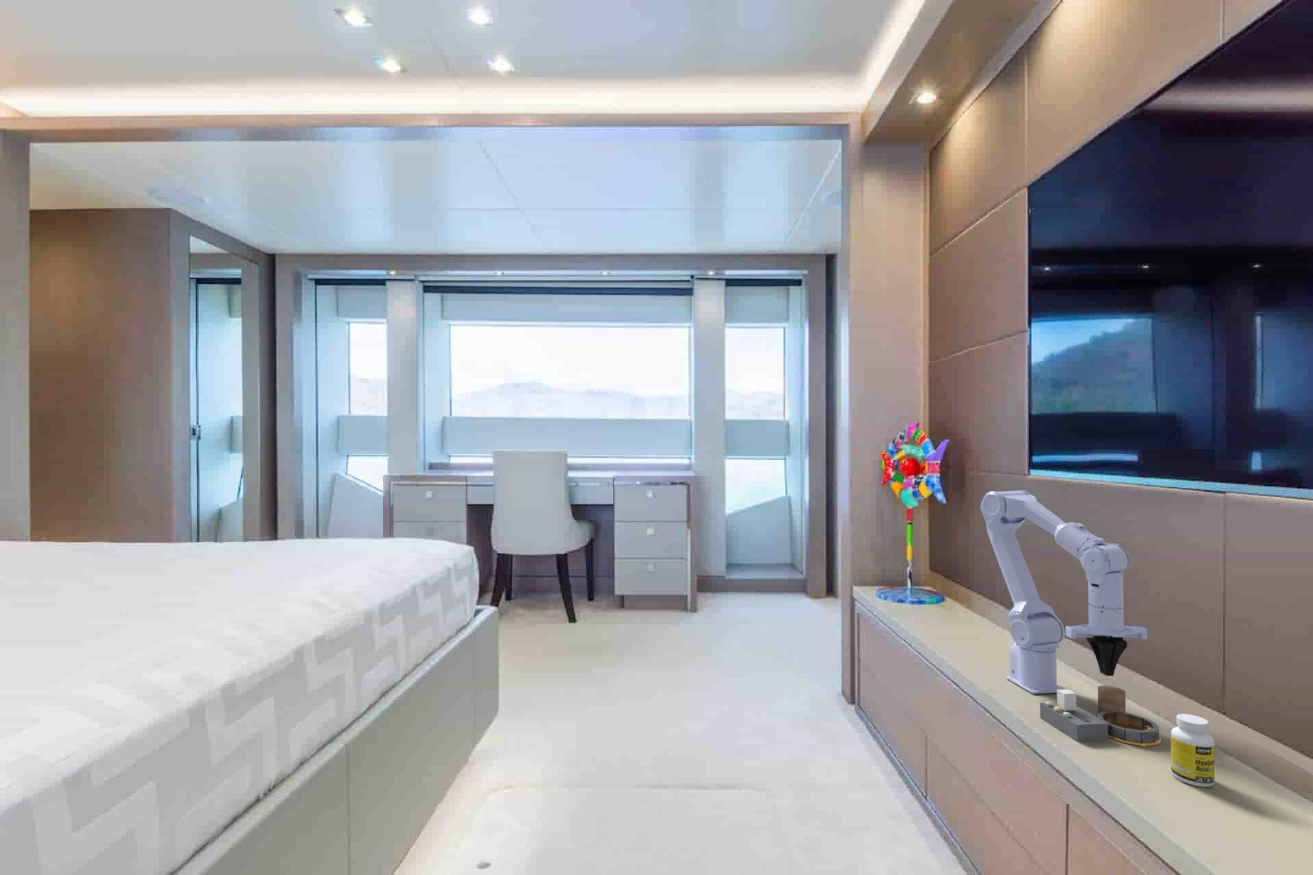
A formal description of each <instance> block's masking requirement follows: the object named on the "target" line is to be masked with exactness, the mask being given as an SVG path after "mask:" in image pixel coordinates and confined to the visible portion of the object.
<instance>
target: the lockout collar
mask: <svg viewBox="0 0 1313 875" xmlns="http://www.w3.org/2000/svg"><path fill="white" fill-rule="evenodd" d="M1096 717H1097V718H1099V719H1101V720H1103V721H1104V722H1106V723H1108V739H1110V740H1113V741H1116V742H1119V743H1122V742H1123V743H1122V744H1126V745H1131V746H1137V745H1145V746H1144V747H1154V746H1153V745H1156V746H1158V745H1160V743H1162V741H1163V740H1162V737H1161V736H1160V727H1159V726H1158V724H1157V723H1156V722H1155V721H1152V720H1151V719H1148V718H1147V717H1145V716H1141V715H1138V714H1135V713H1130V712H1127V711H1126V712H1119V711H1102V712H1101V713H1098V714H1096Z"/></svg>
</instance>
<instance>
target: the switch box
mask: <svg viewBox="0 0 1313 875" xmlns="http://www.w3.org/2000/svg"><path fill="white" fill-rule="evenodd" d="M1039 713H1040V714H1039V716H1040V717H1039V718H1040V719H1041V720H1043V721H1045V722H1046V723H1047V724H1050V725H1051V726H1053V727H1054V728H1055V729H1057V730H1058V731H1060V732H1061V733H1062V734H1065V735H1066V736H1068V737H1070V738H1071V739H1072V740H1074V741H1076V742H1094V741H1108V740H1109V738H1108V723H1106V722H1104V721H1103V720H1101V719H1099V718H1097V715H1094V714H1092V713H1090V712H1089V711H1086V710H1085V709H1083V708H1082V707H1080V706H1077V705H1076V710H1068V711H1064V710H1063V709H1062V708H1061V707H1057V701H1048V700H1045V702H1040V703H1039Z"/></svg>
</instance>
